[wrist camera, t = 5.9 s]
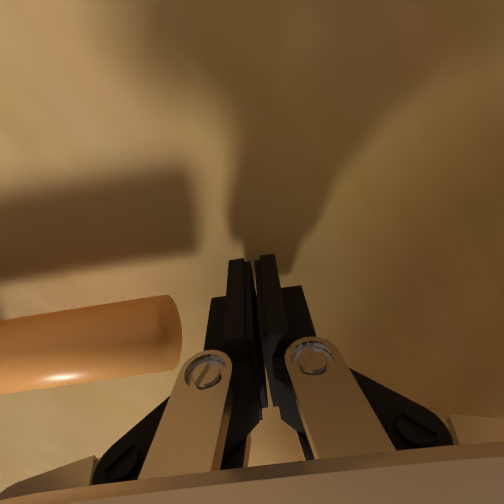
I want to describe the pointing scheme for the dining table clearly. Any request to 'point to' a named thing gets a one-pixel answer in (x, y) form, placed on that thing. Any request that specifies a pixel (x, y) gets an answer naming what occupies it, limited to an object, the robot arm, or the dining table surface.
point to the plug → (90, 344)
